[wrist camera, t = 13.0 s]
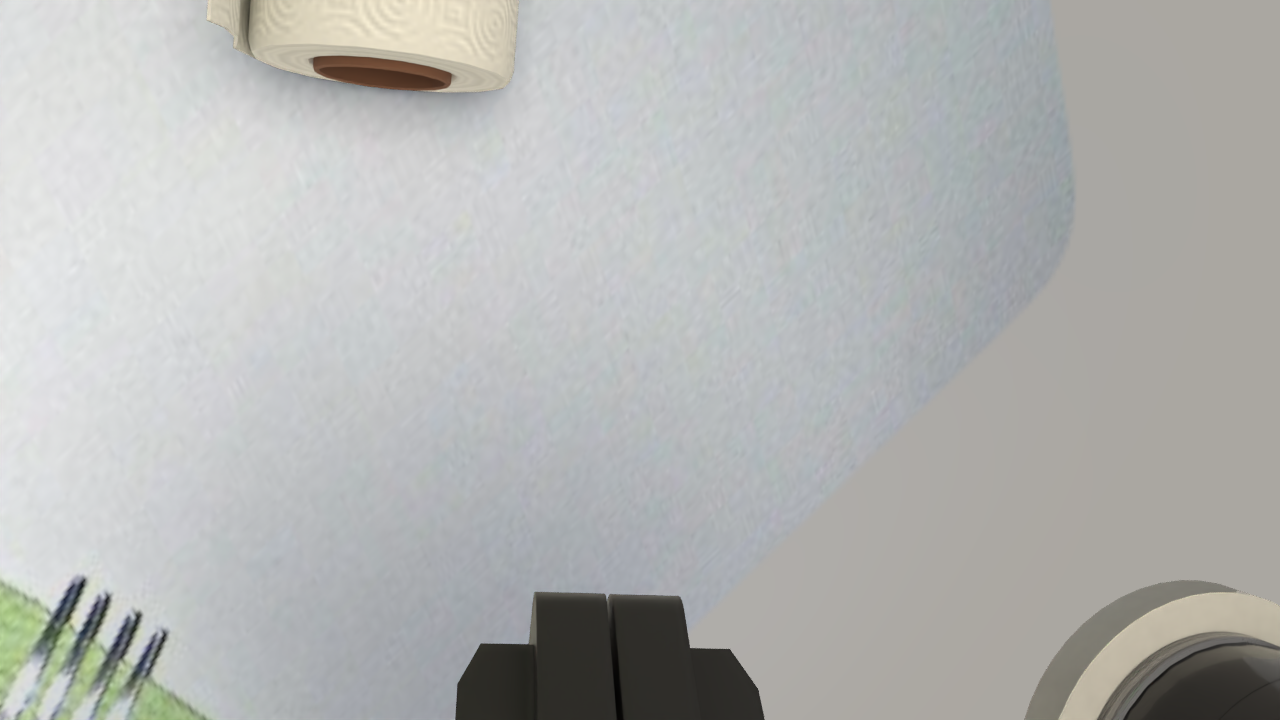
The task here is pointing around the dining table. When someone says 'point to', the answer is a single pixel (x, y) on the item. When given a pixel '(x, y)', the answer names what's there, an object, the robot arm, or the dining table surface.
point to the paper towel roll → (379, 40)
